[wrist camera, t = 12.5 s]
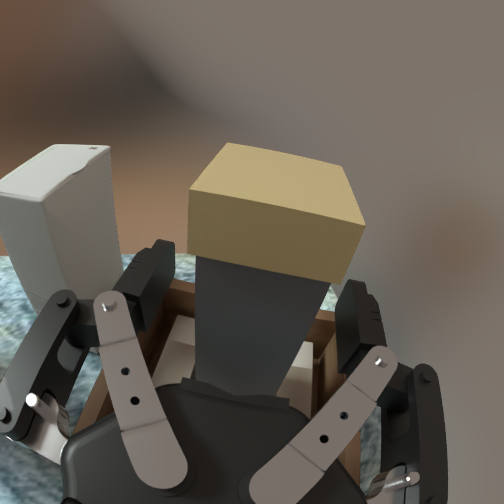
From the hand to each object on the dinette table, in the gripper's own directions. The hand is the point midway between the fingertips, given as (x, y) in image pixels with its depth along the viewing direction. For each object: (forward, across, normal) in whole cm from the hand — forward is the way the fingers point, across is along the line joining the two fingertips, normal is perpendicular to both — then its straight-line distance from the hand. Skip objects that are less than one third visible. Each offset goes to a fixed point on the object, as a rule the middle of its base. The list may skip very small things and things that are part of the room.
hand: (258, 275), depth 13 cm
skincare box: (+4, +15, +13) cm, 20 cm away
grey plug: (-1, 0, +13) cm, 13 cm away
